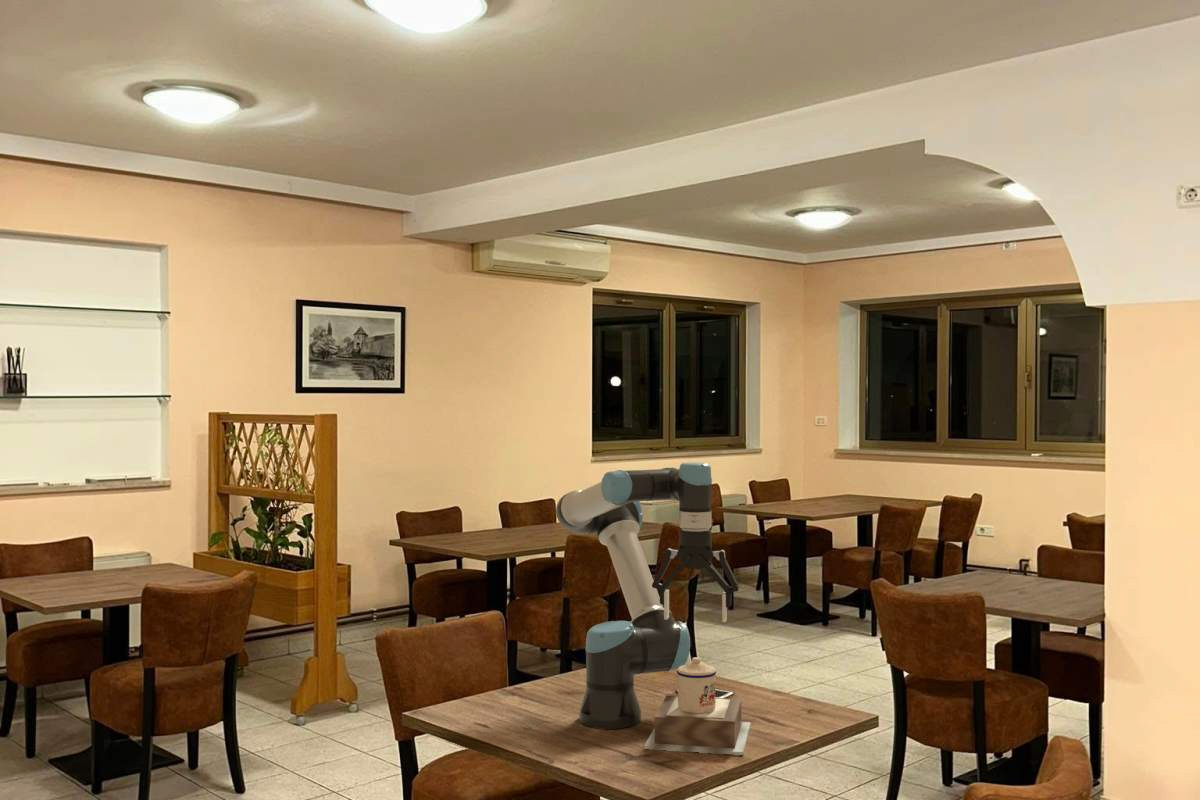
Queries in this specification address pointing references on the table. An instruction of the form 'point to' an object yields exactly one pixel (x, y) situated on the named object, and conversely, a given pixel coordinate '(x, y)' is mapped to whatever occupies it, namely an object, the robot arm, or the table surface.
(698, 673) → the teacup with lid
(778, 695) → the table surface
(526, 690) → the table surface
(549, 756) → the table surface
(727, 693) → the cell phone
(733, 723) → the plinth
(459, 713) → the table surface
